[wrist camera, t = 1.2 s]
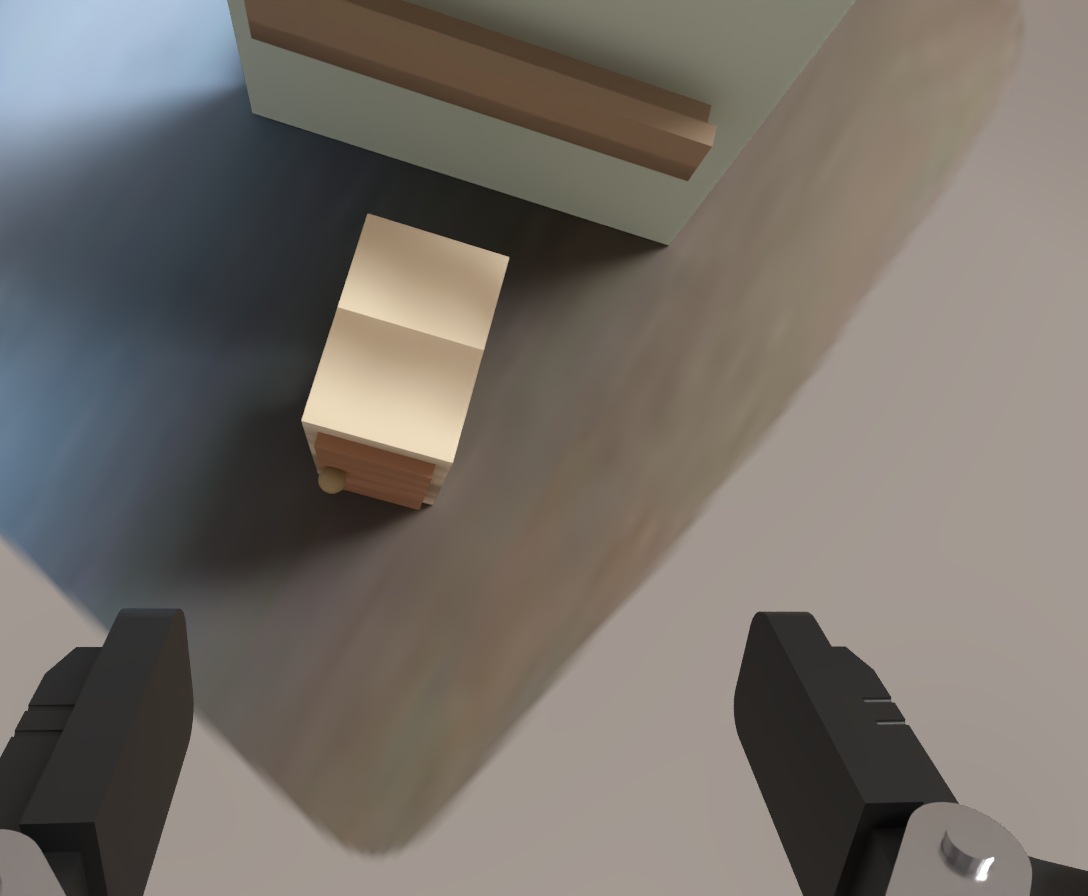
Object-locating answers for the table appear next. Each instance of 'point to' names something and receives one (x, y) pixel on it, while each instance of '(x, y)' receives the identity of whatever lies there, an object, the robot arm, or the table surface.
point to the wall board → (539, 90)
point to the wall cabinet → (401, 363)
